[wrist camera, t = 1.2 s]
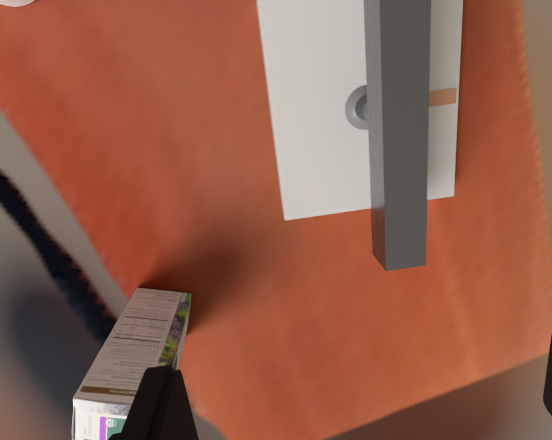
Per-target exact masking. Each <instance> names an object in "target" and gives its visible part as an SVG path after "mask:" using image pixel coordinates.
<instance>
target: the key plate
mask: <svg viewBox="0 0 552 440" xmlns="http://www.w3.org/2000/svg"><path fill="white" fill-rule="evenodd" d="M256 6H257V13H258V21H259V29H260V37H261V45H262V53H263V61H264V69H265V77H266V84H267V92H268V100H269V108H270V116H271V124H272V132H273V140H274V148H275V155H276V163H277V171H278V179H279V187H280V195H281V203H282V211H283V216H284V219H285V220H292V219H299V218H306V217H313V216H320V215H327V214H333V213H340V212H347V211H354V210H361V209H368V208H371V192H370V164H369V137H368V121H364V120H361V119H360V118H358V116H357V115H356V112H355V106H356V103H357V101H358V100H359V99H360V98H361V97H363V96H367V82H366V55H365V27H364V0H257V3H256ZM462 12H463V0H431V27H430V77H429V126H428V175H427V200H430V199H437V198H444V197H451V196H454V182H455V161H456V139H457V118H458V97H459V76H460V54H461V33H462Z"/></svg>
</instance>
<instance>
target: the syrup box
mask: <svg viewBox="0 0 552 440" xmlns="http://www.w3.org/2000/svg"><path fill="white" fill-rule="evenodd" d="M191 297H192V294H190V293H183V292H174V291H165V290H155V289H145V288H136V290H135V291H134V293H133V295H132V297H131V298H130V300H129V302H128V303H127V305H126V307H125V309H124V310H123V312H122V314H121V315H120V317H119V319H118V321H117V323H116V324H115V326H114V328H113V329H112V331H111V333H110V335H109V336H108V338H107V340H106V342H105V343H104V345H103V347H102V348H101V350H100V352H99V354H98V355H97V357H96V359H95V361H94V362H93V364H92V366H91V367H90V369H89V371H88V373H87V374H86V376H85V378H84V380H83V382H82V383H81V385H80V387H79V389H78V391H77V392H76V394H75V395H74V397H73V421H72V440H108V439H109V437H110V436H111V435H113V434H115V433H121V431H122V428H123V426H124V423H125V421H126V418H127V415H128V413H129V410H130V408H131V405H132V403H133V400H134V397H135V395H136V392H137V390H138V387H139V385H140V382H141V380H142V377H143V374H144V372H145V370H146V369H147V368H150V367H157V366H164V365H172V367H173V369H174V370H178V366H179V363H180V359H181V355H182V351H183V347H184V343H185V339H186V334H187V328H188V322H189V314H190V306H191Z"/></svg>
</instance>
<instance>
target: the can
mask: <svg viewBox="0 0 552 440" xmlns="http://www.w3.org/2000/svg"><path fill="white" fill-rule="evenodd" d="M33 1H35V0H0V4H2V5H6V6H13V7H17V6H24V5H27V4H29V3H31V2H33Z"/></svg>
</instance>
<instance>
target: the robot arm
mask: <svg viewBox="0 0 552 440" xmlns="http://www.w3.org/2000/svg"><path fill="white" fill-rule="evenodd" d="M543 401H544V404H545V406H546V408H547V410H548V412H549V413H550V414H551V415H552V336H551V343H550V350H549V358H548V365H547V372H546V380H545V387H544V394H543ZM108 440H199V439H198V435H197V431H196V427H195V424H194V419H193V415H192V412H191V408H190V404H189V400H188V396H187V392H186V388H185V384H184V380H183V376H182V373H181V371H180V370H174V369H173V367H172V365H164V366H157V367H150V368H147V369H146V370H145V372H144V374H143V377H142V380H141V382H140V385H139V387H138V390H137V392H136V395H135V397H134V400H133V403H132V405H131V408H130V410H129V413H128V415H127V418H126V421H125V423H124V426H123V428H122V431H121V433H115V434H113V435H111V436H110V437H109V439H108Z"/></svg>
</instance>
